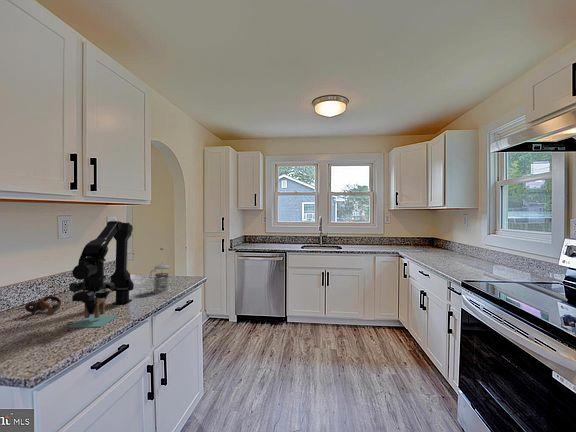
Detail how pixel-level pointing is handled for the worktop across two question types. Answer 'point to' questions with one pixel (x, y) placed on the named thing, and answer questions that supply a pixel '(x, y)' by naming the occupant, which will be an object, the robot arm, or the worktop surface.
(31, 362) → the worktop surface
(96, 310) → the brown u-shaped block
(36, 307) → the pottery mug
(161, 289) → the french press
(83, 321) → the mat
